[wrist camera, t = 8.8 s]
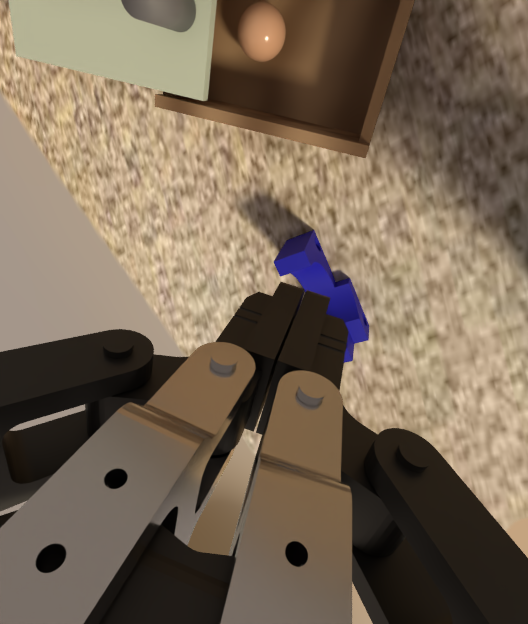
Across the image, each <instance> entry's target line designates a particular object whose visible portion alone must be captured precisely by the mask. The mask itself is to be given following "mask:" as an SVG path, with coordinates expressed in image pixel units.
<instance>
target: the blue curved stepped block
mask: <svg viewBox="0 0 528 624" xmlns="http://www.w3.org/2000/svg"><path fill="white" fill-rule="evenodd" d="M274 264H275V266H276V268H277V270H278V272H279V274H280V276H283V275H286V274H289V273H291V274H292V275H294V276H295V277H296V278H297V279H298V281H299V282H300V283H301V285H302V287H303V288H304V289H305V292H306V290H308V291H312V292H315V293H318V294H321V295H324V296H327V297H330V302H329V305H328V309H327V312H326V314H328V315H331V316H334V317H337V318H340V319H343V321H344V323H345V325H346V327H347V329H348V331H349V332H348V338H347V344H346V351H345V358H344V363H345V362H349V361H353V351H354V343H358V342H363V341H367V340H368V339H369V324H368V322H367V319H366V317H365V314H364V312H363V309H362V307H361V304H360V302H359V299H358V297H357V294H356V292H355V289H354V287H353V284H352V282H351V280H350V278H347V279H344V280H341V281H338V282H336V281H335V279H334V276H333V274H332V272H331V269H330V267H329V264H328V262H327V260H326V257H325V255H324V252H323V250H322V248H321V245H320V243H319V241H318V238H317V236H316V233H315V231H314V230H312V231H310V232H307V233H304V234H302V235H299V236H297V237H294V238H292V239H289V240H287V241H286V242H285V244H284V246H283V247H282V249H281V251H280V252H279V254H278V255H277V257H276V259H275V260H274Z"/></svg>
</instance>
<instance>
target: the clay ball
mask: <svg viewBox="0 0 528 624" xmlns="http://www.w3.org/2000/svg"><path fill="white" fill-rule="evenodd" d="M237 32H238V40H239V44H240V46H241V48H242V50H243V52H244V53H245V54H246V55H247V56H248V57H249V58H251V59H252V60H254V61H257V62H266V61H269V60H271V59H273V58H274V57H276V56H277V55H278V53H279V52H280V51H281V49H282V47H283V45H284V42H285V37H286V27H285V22H284V19H283V17H282V15H281V13H280V12H279V10H278V9H277V8H276V7H275V6H273V5H272V4H270V3H267V2H256V3H253V4H251V5H250V6H248V7H247V8H246V9H245V11H244V12H243V13H242V15H241V17H240V20H239V23H238V31H237Z"/></svg>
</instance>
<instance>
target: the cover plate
mask: <svg viewBox="0 0 528 624" xmlns="http://www.w3.org/2000/svg"><path fill="white" fill-rule="evenodd" d="M8 1H9V8H10V15H11V22H12V29H13V37H14V44H15V51H16V56H18V57H22V58H26V59H30V60H34V61H39V62H43V63H47V64H51V65H55V66H59V67H64V68H68V69H72V70H76V71H80V72H84V73H89V74H93V75H97V76H101V77H105V78H109V79H114V80H118V81H122V82H126V83H130V84H134V85H139V86H143V87H147V88H151V89H155V90H159V91H164V92H168V93H172V94H176V95H180V96H184V97H189V98H193V99H197V100H201V101H208V90H209V80H210V69H211V58H212V48H213V37H214V26H215V15H216V5H217V0H8Z"/></svg>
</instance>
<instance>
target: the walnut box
mask: <svg viewBox="0 0 528 624" xmlns="http://www.w3.org/2000/svg"><path fill="white" fill-rule="evenodd" d="M256 2H267V3H270V4H272V5H273V6H275V7H276V8H277V9H278V10H279V12H280V13H281V15H282V17H283V19H284V22H285V27H286V37H285V42H284V45H283V47H282V49H281V51H280V52H279V53H278V55H277V56H276V57H274V58H273V59H271V60H269V61H266V62H257V61H254V60H252V59H251V58H249V57H248V56H247V55H246V54H245V53H244V52H243V50H242V48H241V46H240V44H239V40H238V32H237V31H238V23H239V20H240V17H241V15H242V13H243V12H244V11H245V9H246V8H247V7H248V6H250V5H251V4H253V3H256ZM414 2H415V0H217V5H216V15H215V26H214V37H213V48H212V58H211V69H210V80H209V90H208V101H201V100H197V99H193V98H189V97H184V96H180V95H176V94H172V93H168V92H164V91H163V94H155V107H159V108H163V109H167V110H171V111H175V112H179V113H183V114H187V115H192V116H196V117H200V118H204V119H208V120H212V121H216V122H220V123H224V124H228V125H232V126H236V127H240V128H244V129H249V130H253V131H257V132H261V133H265V134H269V135H273V136H277V137H281V138H285V139H289V140H293V141H297V142H301V143H305V144H310V145H314V146H318V147H322V148H326V149H330V150H334V151H338V152H342V153H346V154H350V155H354V156H358V157H362V158H366V155H367V152H368V149H369V144H370V141H371V138H372V135H373V132H374V128H375V125H376V122H377V119H378V116H379V113H380V109H381V106H382V103H383V100H384V97H385V93H386V90H387V87H388V84H389V81H390V78H391V74H392V71H393V68H394V65H395V62H396V59H397V55H398V52H399V49H400V46H401V43H402V40H403V36H404V33H405V30H406V27H407V24H408V21H409V17H410V14H411V11H412V8H413V5H414Z"/></svg>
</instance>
